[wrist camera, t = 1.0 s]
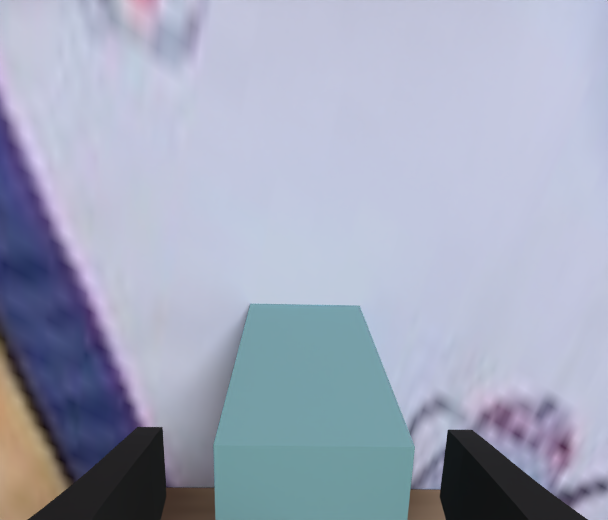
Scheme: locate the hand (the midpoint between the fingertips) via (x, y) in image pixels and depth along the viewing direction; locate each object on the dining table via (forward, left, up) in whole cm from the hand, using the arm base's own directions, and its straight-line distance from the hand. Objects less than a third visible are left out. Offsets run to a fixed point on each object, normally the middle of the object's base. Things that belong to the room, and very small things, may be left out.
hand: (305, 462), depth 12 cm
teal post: (0, 0, -6) cm, 6 cm away
